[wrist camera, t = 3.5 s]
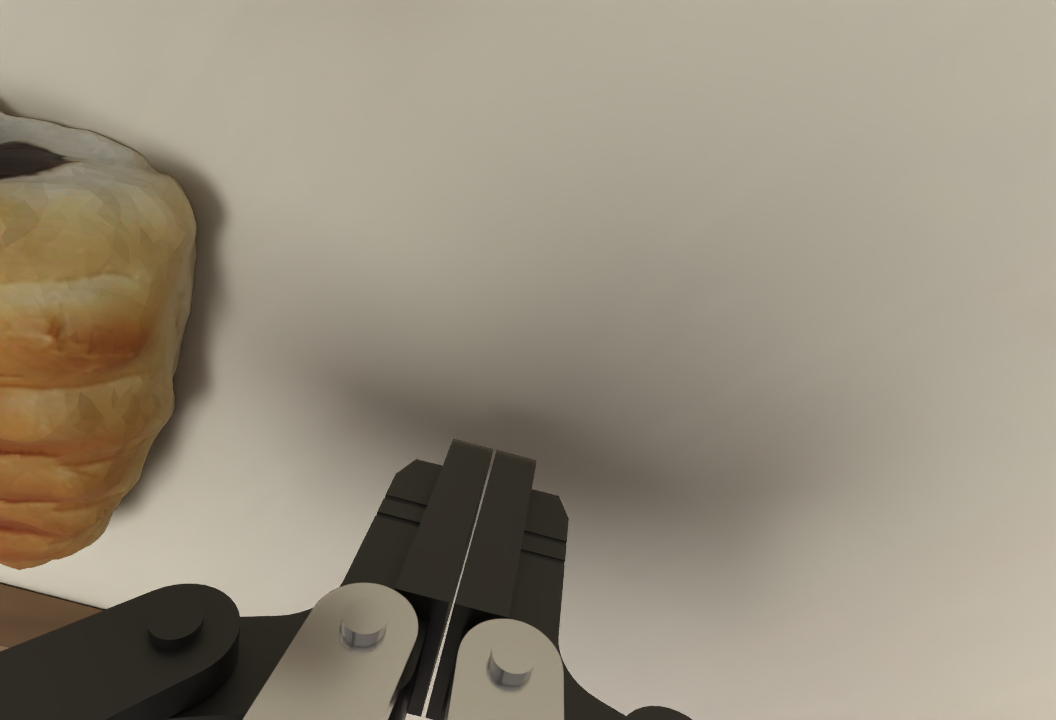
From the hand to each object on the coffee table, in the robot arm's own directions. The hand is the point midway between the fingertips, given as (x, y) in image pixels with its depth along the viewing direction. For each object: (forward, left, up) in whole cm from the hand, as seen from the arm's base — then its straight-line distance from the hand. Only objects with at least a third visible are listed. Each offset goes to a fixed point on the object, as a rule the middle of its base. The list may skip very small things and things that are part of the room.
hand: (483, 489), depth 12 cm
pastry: (0, -9, -2) cm, 9 cm away
